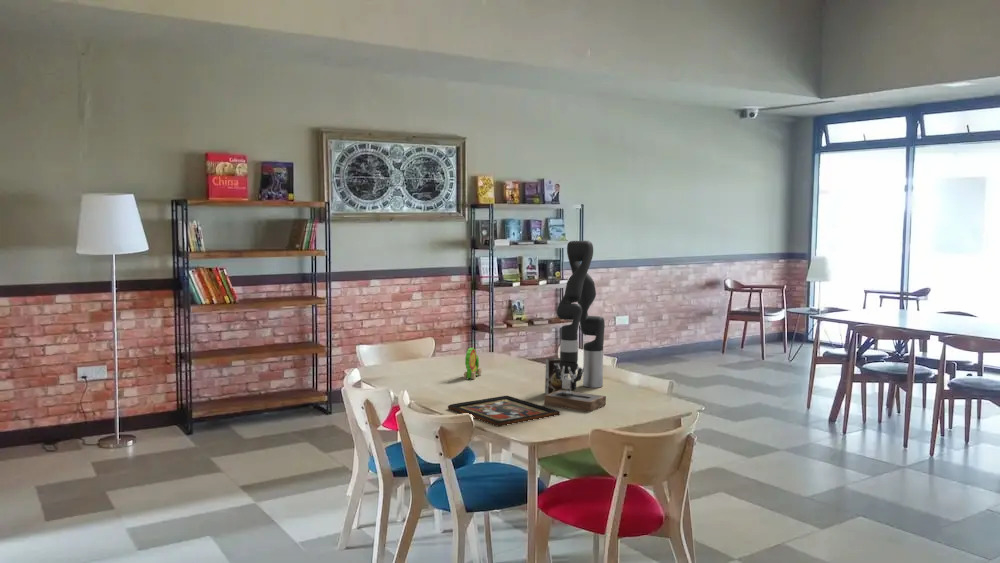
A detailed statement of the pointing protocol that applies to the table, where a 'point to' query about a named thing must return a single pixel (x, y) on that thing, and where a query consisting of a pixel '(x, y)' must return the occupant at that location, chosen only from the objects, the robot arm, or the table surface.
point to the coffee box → (552, 376)
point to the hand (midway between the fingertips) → (568, 389)
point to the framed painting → (503, 410)
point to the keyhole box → (575, 400)
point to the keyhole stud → (567, 385)
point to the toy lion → (472, 364)
